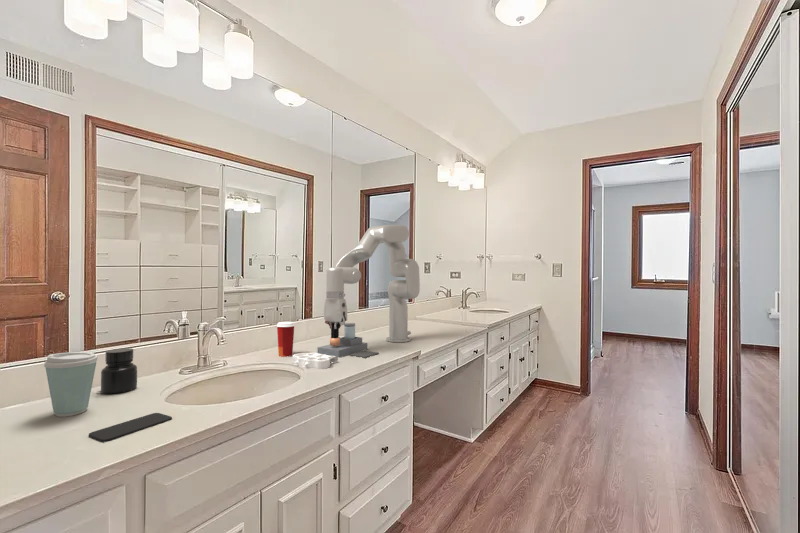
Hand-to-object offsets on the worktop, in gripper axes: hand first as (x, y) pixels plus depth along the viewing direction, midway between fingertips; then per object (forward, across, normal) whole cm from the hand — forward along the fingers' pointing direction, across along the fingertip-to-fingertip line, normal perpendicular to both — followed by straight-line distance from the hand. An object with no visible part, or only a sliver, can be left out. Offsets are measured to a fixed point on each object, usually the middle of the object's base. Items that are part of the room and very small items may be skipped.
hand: (334, 337), depth 168 cm
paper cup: (+7, +16, +13) cm, 22 cm away
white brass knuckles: (+8, -5, +18) cm, 20 cm away
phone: (+8, -13, +84) cm, 86 cm away
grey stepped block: (+7, 0, -6) cm, 9 cm away
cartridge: (+4, 0, -10) cm, 11 cm away
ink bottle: (+7, +21, +73) cm, 77 cm away
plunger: (+7, 0, 0) cm, 7 cm away
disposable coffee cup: (+7, +10, +88) cm, 89 cm away
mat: (+7, -12, -6) cm, 15 cm away
